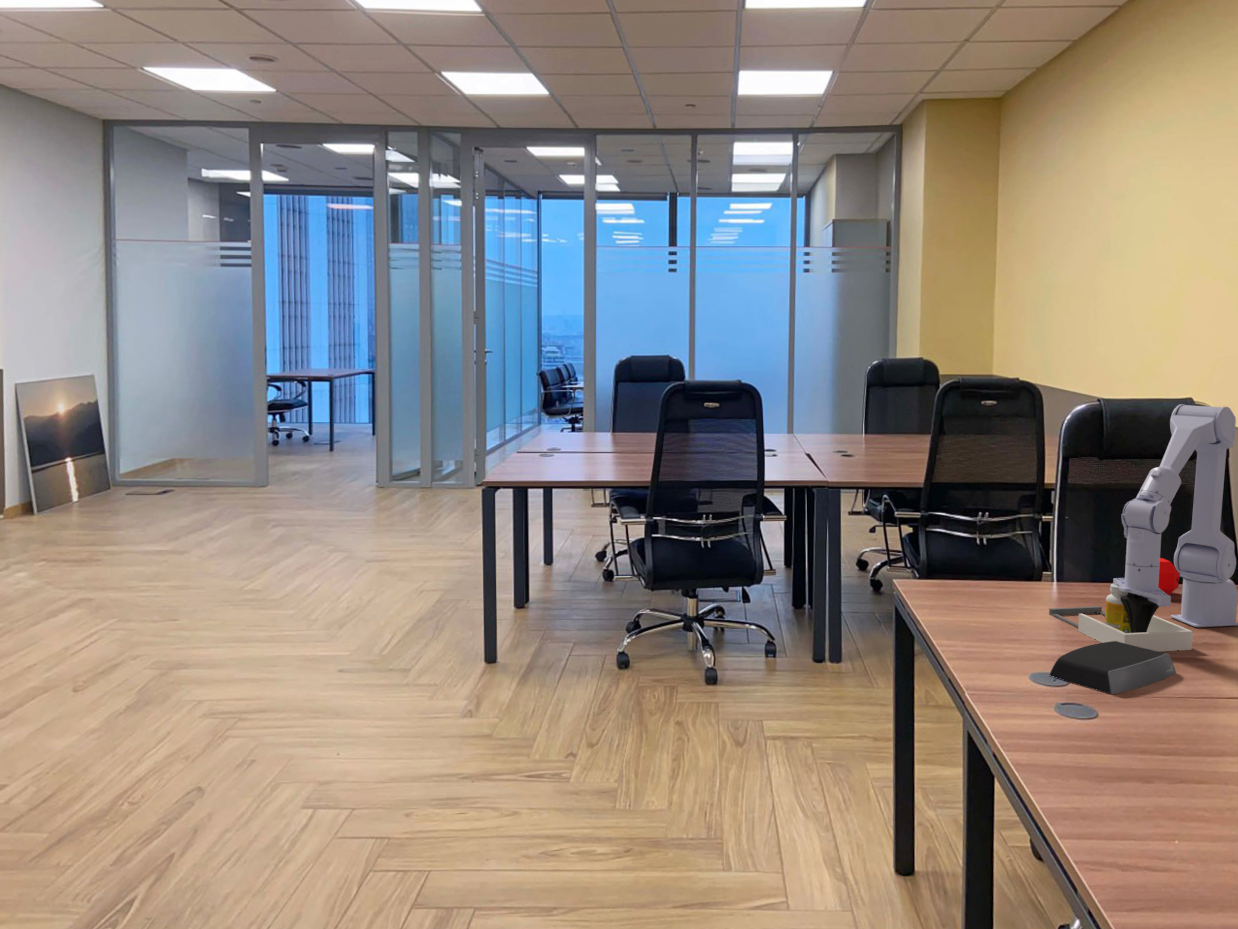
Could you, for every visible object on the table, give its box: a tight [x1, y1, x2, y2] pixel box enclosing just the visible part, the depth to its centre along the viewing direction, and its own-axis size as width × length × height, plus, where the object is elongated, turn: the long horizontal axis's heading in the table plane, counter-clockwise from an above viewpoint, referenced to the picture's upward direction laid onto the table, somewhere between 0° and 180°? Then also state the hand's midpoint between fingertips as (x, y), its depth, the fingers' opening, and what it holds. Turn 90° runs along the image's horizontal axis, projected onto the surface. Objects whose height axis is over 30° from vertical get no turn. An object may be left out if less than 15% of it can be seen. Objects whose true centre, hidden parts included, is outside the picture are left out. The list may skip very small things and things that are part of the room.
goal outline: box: [1048, 605, 1105, 629], centre depth 222 cm, size 11×10×1 cm
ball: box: [1158, 557, 1180, 596], centre depth 243 cm, size 8×8×8 cm
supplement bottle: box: [1104, 583, 1131, 633], centre depth 211 cm, size 5×5×10 cm
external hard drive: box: [1048, 641, 1177, 695], centre depth 187 cm, size 13×19×4 cm
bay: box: [1077, 614, 1194, 652], centre depth 207 cm, size 14×15×4 cm
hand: (1138, 634), depth 206 cm, fingers closed
